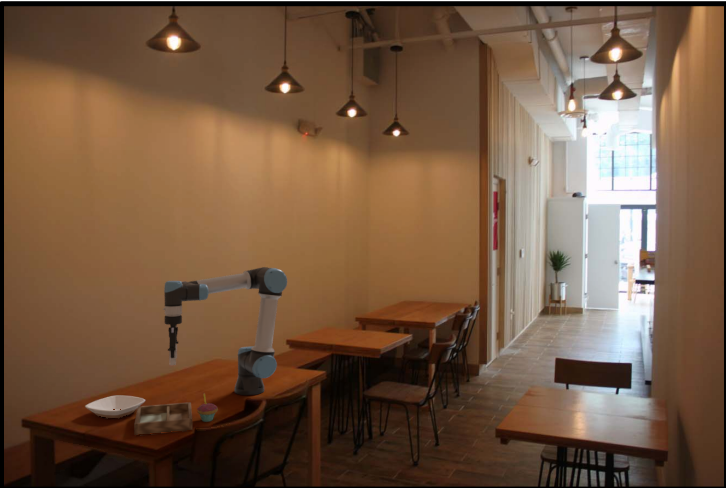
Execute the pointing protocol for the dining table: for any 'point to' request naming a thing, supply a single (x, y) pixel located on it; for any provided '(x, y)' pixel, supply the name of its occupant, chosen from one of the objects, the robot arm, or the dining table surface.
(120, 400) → the bowl
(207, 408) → the cupcake
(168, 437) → the dining table surface
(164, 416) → the crate
